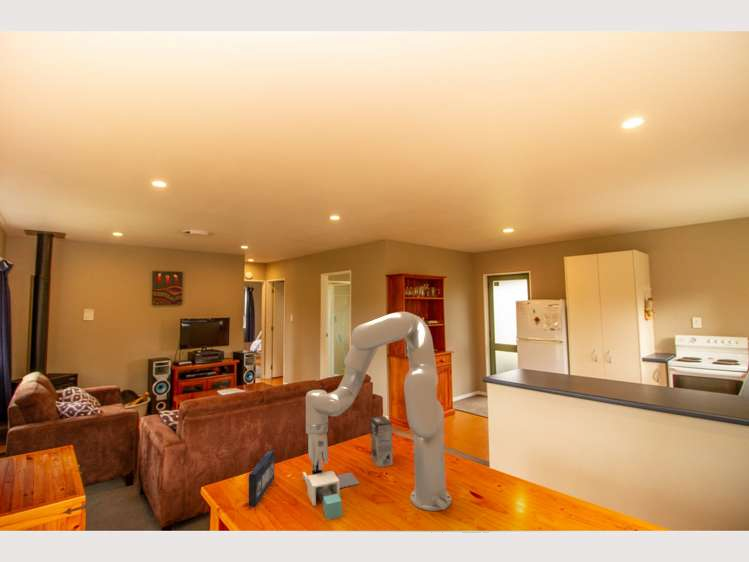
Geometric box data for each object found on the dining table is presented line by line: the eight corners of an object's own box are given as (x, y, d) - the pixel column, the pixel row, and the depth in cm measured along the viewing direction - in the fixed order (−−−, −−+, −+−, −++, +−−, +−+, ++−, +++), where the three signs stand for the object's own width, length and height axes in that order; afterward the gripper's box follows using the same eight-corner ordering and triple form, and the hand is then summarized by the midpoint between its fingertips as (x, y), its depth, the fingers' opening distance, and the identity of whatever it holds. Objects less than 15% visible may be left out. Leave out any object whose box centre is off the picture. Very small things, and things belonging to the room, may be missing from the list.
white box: (339, 499, 115) (339, 480, 115) (313, 506, 111) (313, 486, 112) (323, 473, 133) (323, 457, 133) (300, 478, 130) (300, 461, 130)
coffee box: (370, 458, 146) (369, 417, 147) (385, 455, 148) (384, 415, 149) (377, 467, 137) (376, 424, 138) (393, 464, 139) (392, 422, 140)
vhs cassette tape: (256, 507, 112) (256, 474, 112) (246, 507, 112) (246, 474, 112) (275, 479, 130) (275, 450, 131) (267, 479, 130) (267, 450, 131)
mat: (359, 484, 124) (359, 483, 124) (334, 490, 121) (334, 488, 121) (350, 473, 132) (350, 472, 132) (327, 478, 129) (327, 477, 129)
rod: (335, 510, 109) (335, 498, 110) (326, 512, 108) (325, 500, 108) (323, 489, 122) (323, 478, 122) (315, 491, 121) (314, 480, 121)
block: (342, 516, 105) (341, 500, 106) (327, 520, 104) (327, 504, 104) (337, 508, 109) (337, 493, 110) (323, 512, 108) (323, 496, 108)
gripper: (333, 432, 119) (334, 489, 118) (322, 419, 133) (322, 471, 132) (311, 435, 116) (311, 494, 115) (301, 422, 130) (302, 475, 129)
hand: (317, 482), depth 123 cm, fingers closed
